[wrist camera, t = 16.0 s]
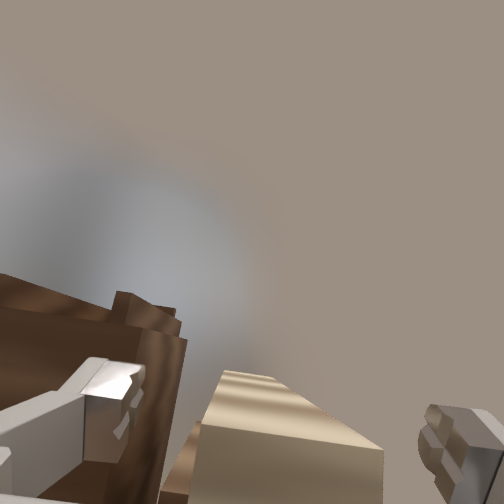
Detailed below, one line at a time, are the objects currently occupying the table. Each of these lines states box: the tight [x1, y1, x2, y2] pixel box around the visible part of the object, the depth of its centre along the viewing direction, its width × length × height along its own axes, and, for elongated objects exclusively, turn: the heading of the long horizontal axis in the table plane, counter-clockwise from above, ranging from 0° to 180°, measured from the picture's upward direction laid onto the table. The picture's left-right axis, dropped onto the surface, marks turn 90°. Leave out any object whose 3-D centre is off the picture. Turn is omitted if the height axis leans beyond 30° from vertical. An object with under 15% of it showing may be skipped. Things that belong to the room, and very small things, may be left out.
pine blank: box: [188, 370, 384, 504], centre depth 17 cm, size 22×4×4 cm, turn 3°
